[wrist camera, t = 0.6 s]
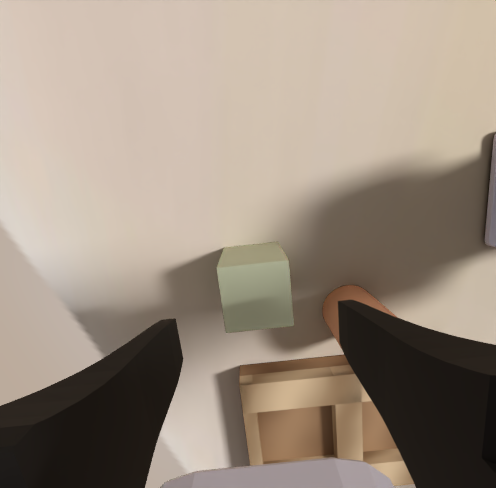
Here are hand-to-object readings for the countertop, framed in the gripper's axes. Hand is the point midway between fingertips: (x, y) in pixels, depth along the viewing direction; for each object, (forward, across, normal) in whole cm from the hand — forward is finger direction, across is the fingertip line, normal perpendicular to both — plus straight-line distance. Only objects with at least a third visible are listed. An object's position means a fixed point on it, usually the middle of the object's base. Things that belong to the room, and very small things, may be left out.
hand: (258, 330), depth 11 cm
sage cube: (+8, 0, 0) cm, 8 cm away
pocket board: (+8, -6, +14) cm, 17 cm away
